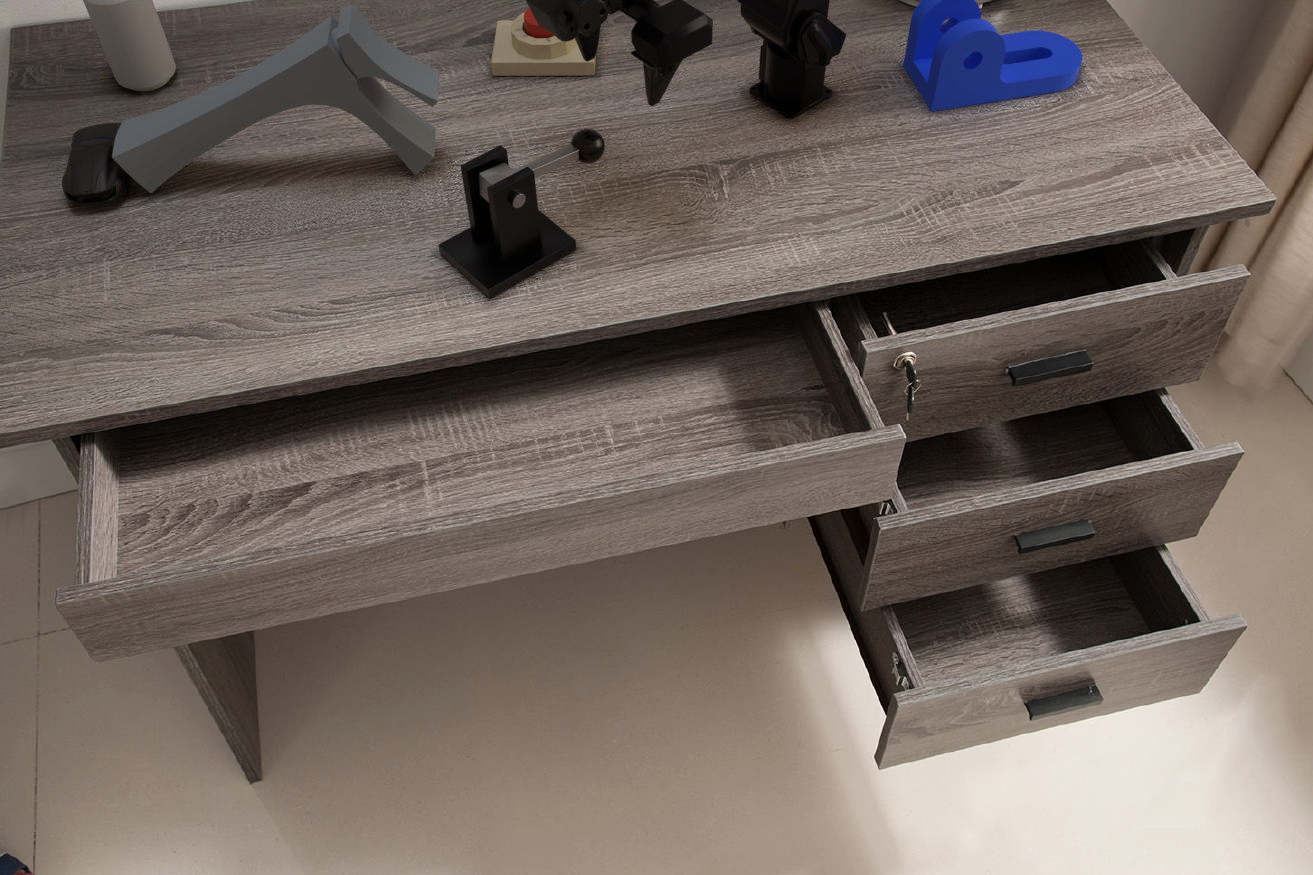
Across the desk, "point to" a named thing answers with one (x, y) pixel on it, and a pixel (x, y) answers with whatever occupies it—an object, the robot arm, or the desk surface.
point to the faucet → (291, 100)
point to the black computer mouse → (94, 167)
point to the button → (534, 27)
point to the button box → (535, 54)
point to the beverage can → (133, 42)
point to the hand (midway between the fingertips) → (621, 81)
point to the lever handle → (550, 159)
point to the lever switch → (503, 229)
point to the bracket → (982, 57)
